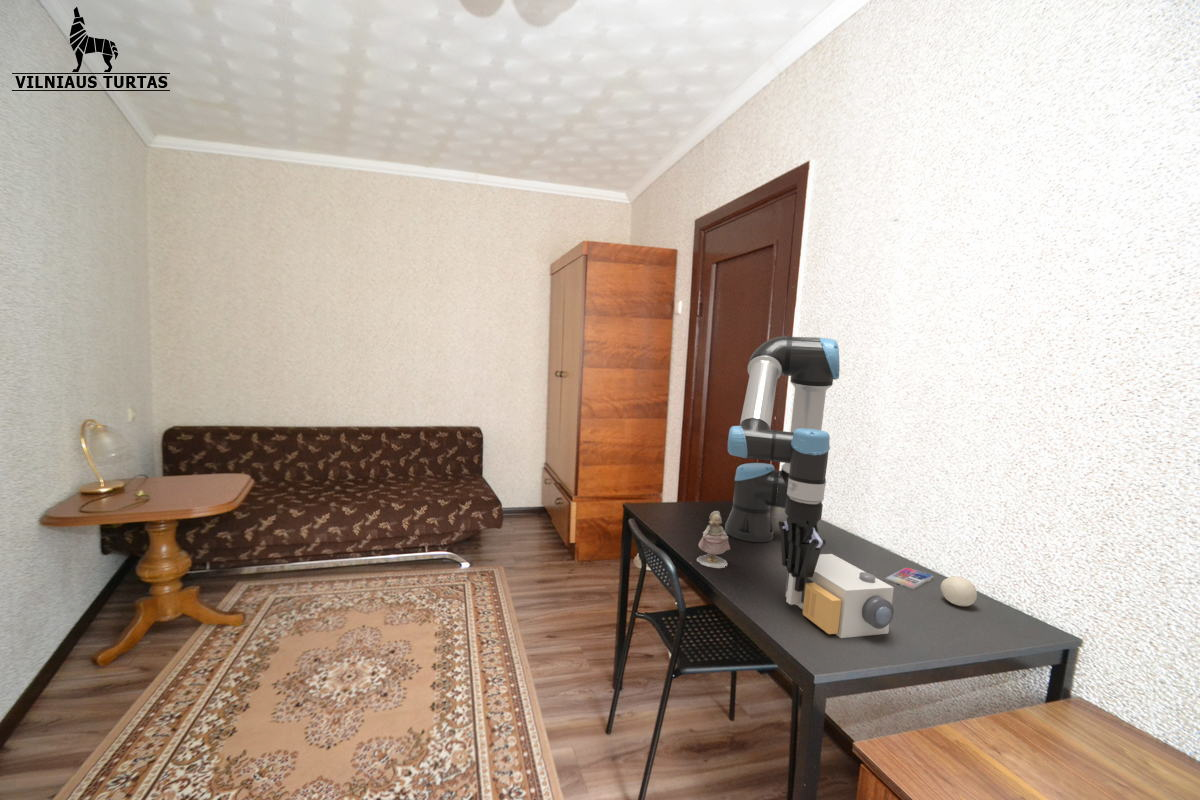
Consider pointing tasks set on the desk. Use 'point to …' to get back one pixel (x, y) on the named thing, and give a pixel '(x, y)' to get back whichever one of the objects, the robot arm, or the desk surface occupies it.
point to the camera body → (854, 596)
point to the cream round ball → (959, 591)
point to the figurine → (714, 543)
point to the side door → (822, 608)
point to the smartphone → (909, 578)
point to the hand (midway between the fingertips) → (793, 602)
